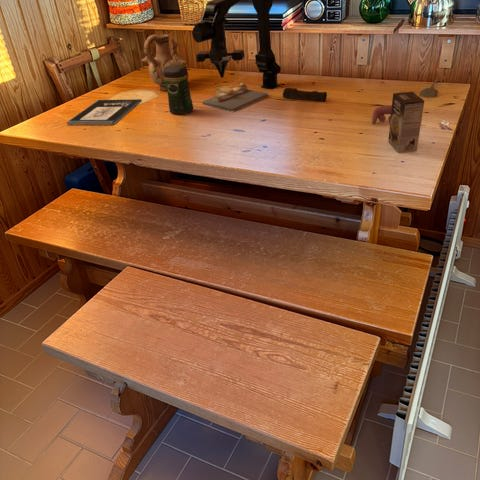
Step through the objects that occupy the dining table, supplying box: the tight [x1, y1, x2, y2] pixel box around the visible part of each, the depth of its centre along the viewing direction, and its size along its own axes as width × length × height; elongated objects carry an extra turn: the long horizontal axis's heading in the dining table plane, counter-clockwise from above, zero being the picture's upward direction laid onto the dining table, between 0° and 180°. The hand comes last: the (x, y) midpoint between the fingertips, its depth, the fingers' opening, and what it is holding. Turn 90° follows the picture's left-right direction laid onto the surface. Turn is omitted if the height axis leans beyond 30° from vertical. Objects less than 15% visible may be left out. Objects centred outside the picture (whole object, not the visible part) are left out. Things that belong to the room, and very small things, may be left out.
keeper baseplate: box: [202, 82, 269, 112], centre depth 197 cm, size 22×18×5 cm
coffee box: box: [387, 91, 425, 154], centre depth 143 cm, size 9×6×16 cm
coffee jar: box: [163, 65, 194, 115], centre depth 187 cm, size 10×8×19 cm
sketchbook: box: [66, 98, 142, 127], centre depth 200 cm, size 22×30×2 cm
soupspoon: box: [419, 78, 440, 99], centre depth 188 cm, size 22×3×7 cm
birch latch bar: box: [212, 84, 248, 102], centre depth 200 cm, size 18×4×2 cm, turn 134°
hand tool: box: [282, 87, 328, 103], centre depth 191 cm, size 19×4×5 cm, turn 60°
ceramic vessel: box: [141, 33, 187, 91], centre depth 214 cm, size 18×19×25 cm
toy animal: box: [371, 105, 392, 126], centre depth 163 cm, size 10×5×7 cm, turn 72°
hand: (222, 77), depth 190 cm, fingers closed
